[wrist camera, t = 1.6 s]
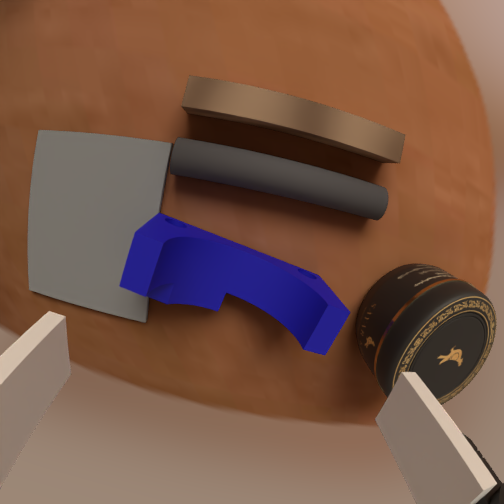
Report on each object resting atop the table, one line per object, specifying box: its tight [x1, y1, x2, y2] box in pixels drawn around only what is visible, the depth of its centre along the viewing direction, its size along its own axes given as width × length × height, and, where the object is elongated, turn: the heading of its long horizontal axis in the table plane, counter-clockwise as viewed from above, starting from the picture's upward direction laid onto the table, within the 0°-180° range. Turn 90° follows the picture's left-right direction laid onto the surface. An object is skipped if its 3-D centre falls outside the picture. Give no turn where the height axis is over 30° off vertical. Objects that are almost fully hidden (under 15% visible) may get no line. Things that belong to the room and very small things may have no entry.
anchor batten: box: [181, 75, 405, 163], centre depth 18 cm, size 14×2×2 cm, turn 78°
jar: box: [356, 264, 496, 405], centre depth 20 cm, size 10×10×8 cm
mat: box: [28, 130, 173, 323], centre depth 20 cm, size 11×13×1 cm
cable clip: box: [119, 213, 350, 355], centre depth 18 cm, size 12×4×6 cm, turn 67°
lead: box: [170, 137, 388, 220], centre depth 19 cm, size 14×2×2 cm
